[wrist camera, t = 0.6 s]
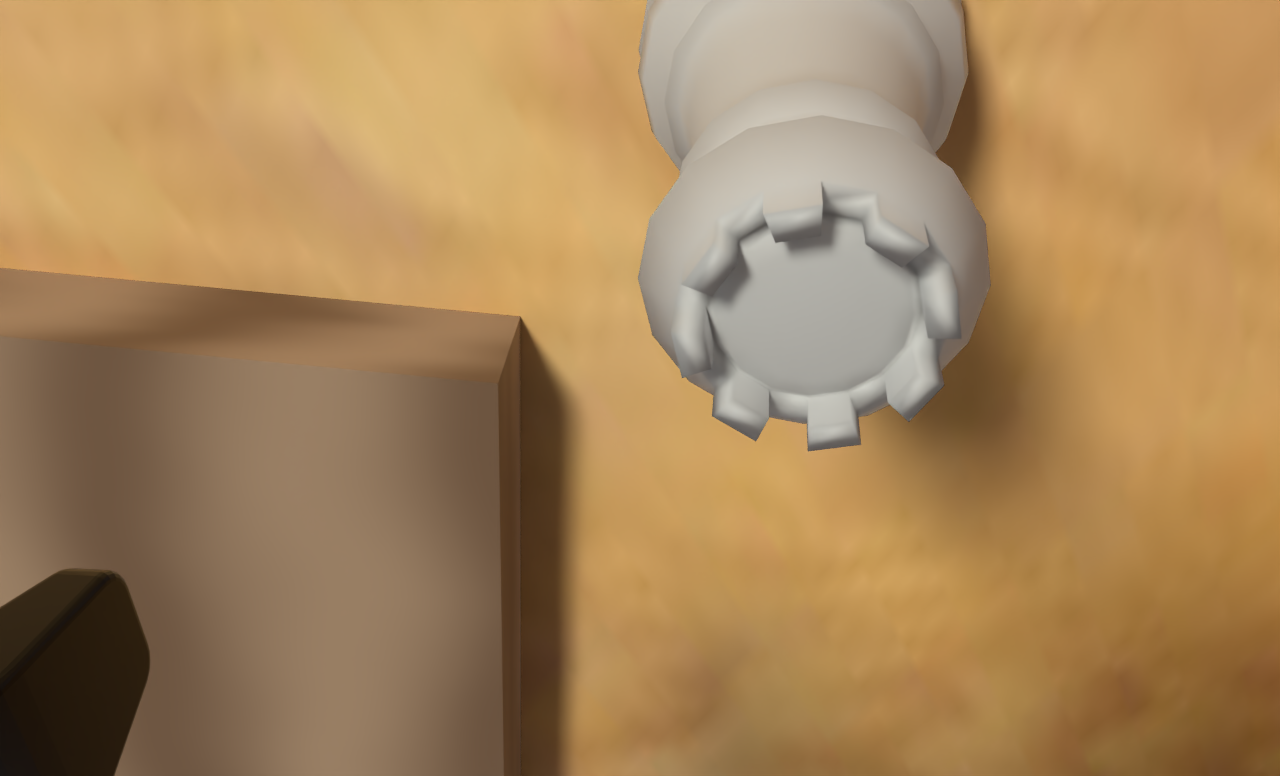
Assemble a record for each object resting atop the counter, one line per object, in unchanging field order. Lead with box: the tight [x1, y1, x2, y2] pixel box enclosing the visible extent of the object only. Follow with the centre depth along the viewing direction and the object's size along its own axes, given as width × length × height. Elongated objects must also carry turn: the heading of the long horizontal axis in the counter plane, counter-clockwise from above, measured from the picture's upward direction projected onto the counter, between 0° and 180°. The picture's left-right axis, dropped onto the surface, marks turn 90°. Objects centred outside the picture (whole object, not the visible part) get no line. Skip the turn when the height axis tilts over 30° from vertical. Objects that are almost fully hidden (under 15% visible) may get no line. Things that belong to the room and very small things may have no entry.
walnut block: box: [0, 268, 521, 776], centre depth 23 cm, size 12×12×2 cm
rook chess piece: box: [638, 0, 991, 451], centre depth 14 cm, size 4×4×8 cm
